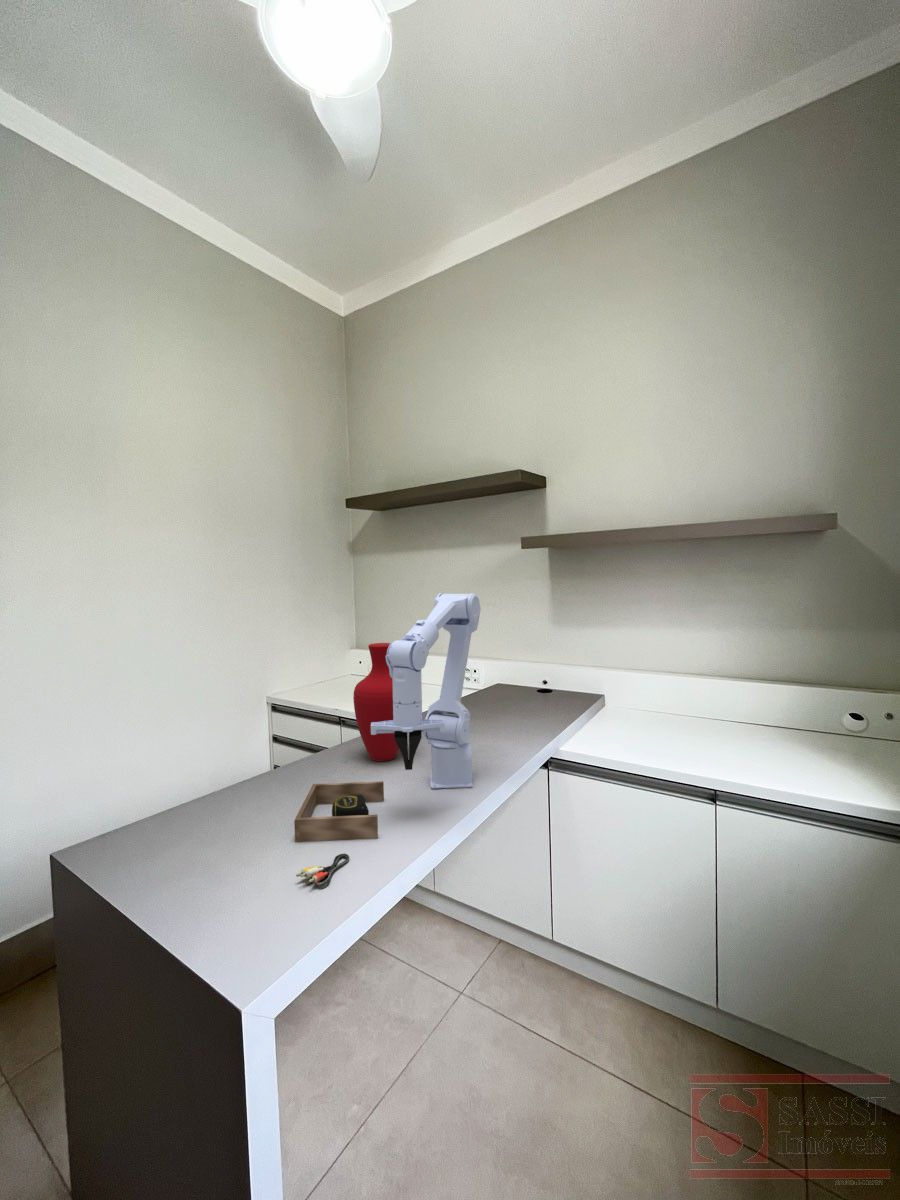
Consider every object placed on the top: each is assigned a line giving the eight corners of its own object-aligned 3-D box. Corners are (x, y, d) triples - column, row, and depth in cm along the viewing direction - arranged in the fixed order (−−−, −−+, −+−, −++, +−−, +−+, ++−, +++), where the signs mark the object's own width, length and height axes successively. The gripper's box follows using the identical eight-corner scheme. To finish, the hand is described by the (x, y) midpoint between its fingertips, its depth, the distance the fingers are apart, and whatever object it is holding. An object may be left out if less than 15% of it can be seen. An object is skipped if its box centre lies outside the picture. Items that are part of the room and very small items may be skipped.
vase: (422, 757, 131) (420, 643, 129) (376, 772, 121) (373, 650, 119) (389, 743, 142) (387, 639, 140) (344, 757, 131) (341, 644, 130)
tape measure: (369, 825, 96) (369, 806, 95) (333, 831, 94) (332, 811, 93) (365, 809, 102) (365, 791, 102) (331, 814, 100) (330, 796, 100)
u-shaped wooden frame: (383, 799, 106) (383, 781, 106) (377, 838, 91) (377, 816, 90) (313, 802, 105) (313, 784, 105) (295, 841, 90) (294, 820, 89)
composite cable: (342, 856, 85) (342, 842, 85) (362, 866, 82) (362, 851, 82) (294, 885, 77) (293, 870, 77) (313, 897, 75) (313, 881, 74)
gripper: (368, 707, 94) (370, 777, 95) (445, 704, 95) (446, 774, 96) (371, 697, 101) (373, 763, 102) (443, 695, 102) (444, 760, 103)
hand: (408, 767), depth 99 cm, fingers closed
